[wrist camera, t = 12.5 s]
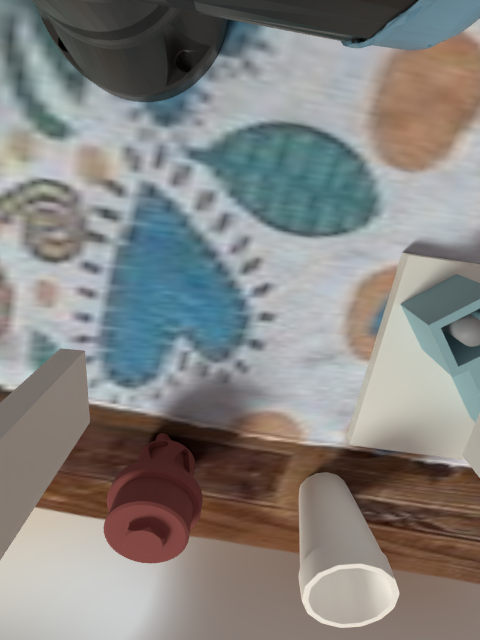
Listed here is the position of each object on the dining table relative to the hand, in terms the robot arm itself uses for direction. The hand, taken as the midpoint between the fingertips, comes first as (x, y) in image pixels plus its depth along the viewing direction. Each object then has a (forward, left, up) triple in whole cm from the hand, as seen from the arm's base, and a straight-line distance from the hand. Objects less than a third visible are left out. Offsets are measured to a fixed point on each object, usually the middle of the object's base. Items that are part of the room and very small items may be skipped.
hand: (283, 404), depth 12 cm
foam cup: (+29, +14, -26) cm, 42 cm away
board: (+9, +23, -26) cm, 36 cm away
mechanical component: (+26, -7, -26) cm, 38 cm away
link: (+7, +23, -25) cm, 34 cm away
